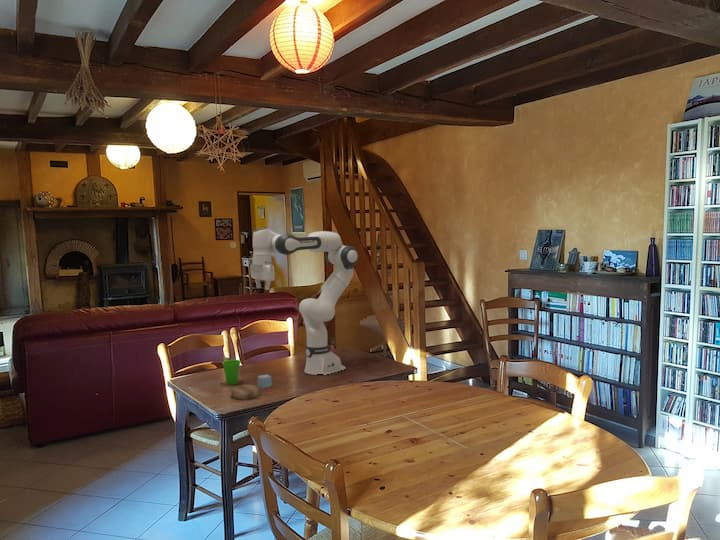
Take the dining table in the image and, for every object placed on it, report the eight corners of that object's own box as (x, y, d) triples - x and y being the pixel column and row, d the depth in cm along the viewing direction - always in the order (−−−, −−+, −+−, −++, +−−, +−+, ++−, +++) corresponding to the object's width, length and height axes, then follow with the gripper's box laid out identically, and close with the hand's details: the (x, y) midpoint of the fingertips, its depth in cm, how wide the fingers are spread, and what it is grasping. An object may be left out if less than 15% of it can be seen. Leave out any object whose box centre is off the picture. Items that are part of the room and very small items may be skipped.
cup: (238, 386, 248) (238, 364, 248) (220, 386, 249) (219, 364, 248) (243, 380, 257) (242, 359, 257) (225, 380, 258) (224, 359, 257)
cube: (267, 384, 252) (266, 374, 251) (271, 386, 248) (271, 376, 247) (257, 386, 249) (257, 376, 248) (262, 388, 245) (262, 378, 244)
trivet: (252, 389, 244) (252, 382, 244) (264, 395, 234) (264, 389, 233) (226, 394, 236) (226, 388, 236) (238, 401, 226) (237, 395, 226)
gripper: (277, 261, 243) (278, 290, 245) (259, 259, 260) (259, 286, 261) (265, 262, 240) (266, 291, 241) (247, 260, 256) (248, 287, 257)
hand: (262, 288), depth 251 cm, fingers open, 8 cm apart
